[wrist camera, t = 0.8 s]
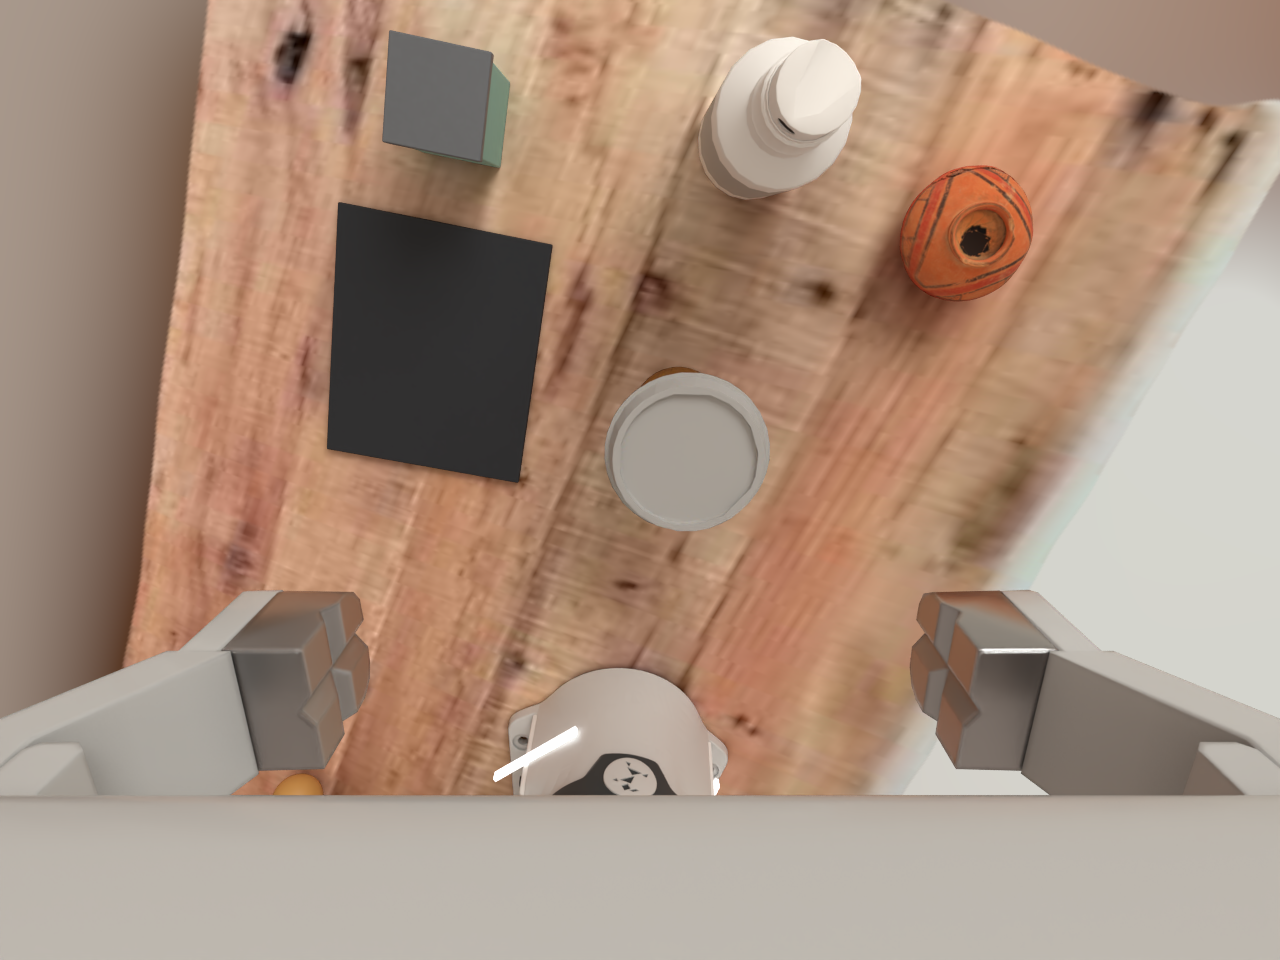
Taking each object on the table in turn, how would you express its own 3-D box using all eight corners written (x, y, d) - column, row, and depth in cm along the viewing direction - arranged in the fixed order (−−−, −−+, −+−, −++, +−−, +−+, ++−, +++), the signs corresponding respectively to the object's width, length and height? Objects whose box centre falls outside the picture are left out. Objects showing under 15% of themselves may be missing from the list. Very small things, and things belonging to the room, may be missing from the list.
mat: (519, 480, 52) (518, 482, 52) (329, 447, 52) (326, 449, 51) (552, 244, 47) (551, 244, 46) (340, 202, 46) (337, 202, 46)
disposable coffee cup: (636, 489, 53) (636, 559, 41) (592, 369, 50) (579, 409, 38) (759, 449, 52) (793, 510, 40) (721, 324, 49) (746, 352, 37)
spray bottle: (675, 150, 45) (697, 101, 28) (747, 56, 43) (817, -58, 26) (754, 222, 46) (820, 217, 29) (826, 134, 45) (941, 74, 28)
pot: (979, 317, 48) (1004, 323, 42) (872, 274, 49) (880, 274, 43) (1043, 199, 45) (1080, 187, 39) (928, 156, 46) (946, 137, 40)
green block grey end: (503, 172, 45) (479, 161, 39) (419, 155, 45) (381, 141, 38) (513, 79, 44) (491, 52, 37) (427, 60, 43) (388, 29, 37)
